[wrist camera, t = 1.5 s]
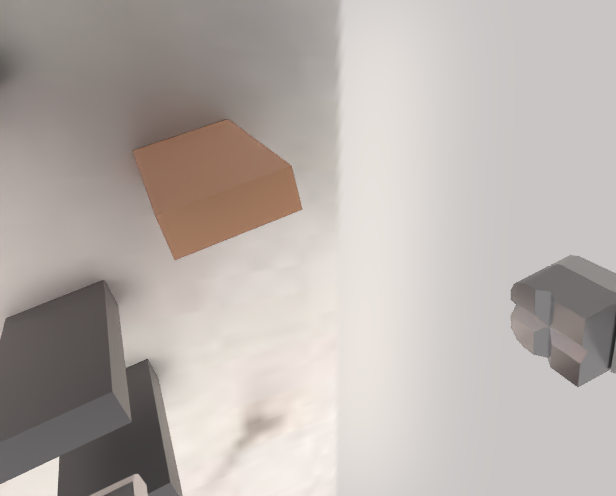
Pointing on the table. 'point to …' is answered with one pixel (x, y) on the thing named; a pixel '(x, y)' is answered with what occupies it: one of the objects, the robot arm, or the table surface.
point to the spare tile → (214, 186)
